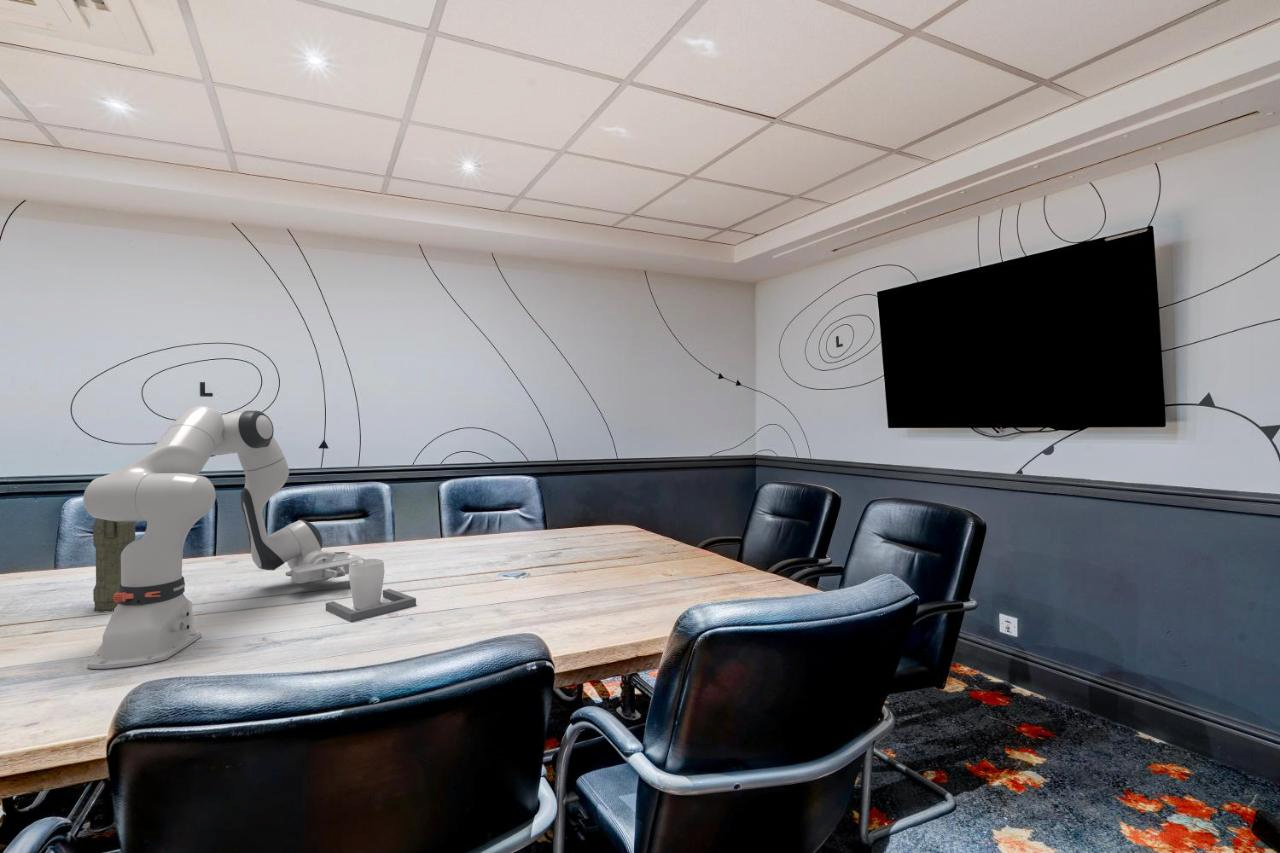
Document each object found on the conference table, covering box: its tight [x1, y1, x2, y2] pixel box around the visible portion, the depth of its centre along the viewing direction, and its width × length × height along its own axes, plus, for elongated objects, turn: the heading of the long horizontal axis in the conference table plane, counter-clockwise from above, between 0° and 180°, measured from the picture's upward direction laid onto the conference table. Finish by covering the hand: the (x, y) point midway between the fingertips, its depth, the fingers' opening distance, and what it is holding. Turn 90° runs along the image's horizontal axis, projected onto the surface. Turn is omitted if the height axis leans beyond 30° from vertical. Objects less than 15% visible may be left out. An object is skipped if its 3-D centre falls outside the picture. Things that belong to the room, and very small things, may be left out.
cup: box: [348, 558, 385, 610], centre depth 170 cm, size 9×9×12 cm
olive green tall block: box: [92, 518, 136, 612], centre depth 168 cm, size 9×12×35 cm
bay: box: [325, 588, 417, 623], centre depth 169 cm, size 14×18×2 cm
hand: (340, 574), depth 181 cm, fingers closed
